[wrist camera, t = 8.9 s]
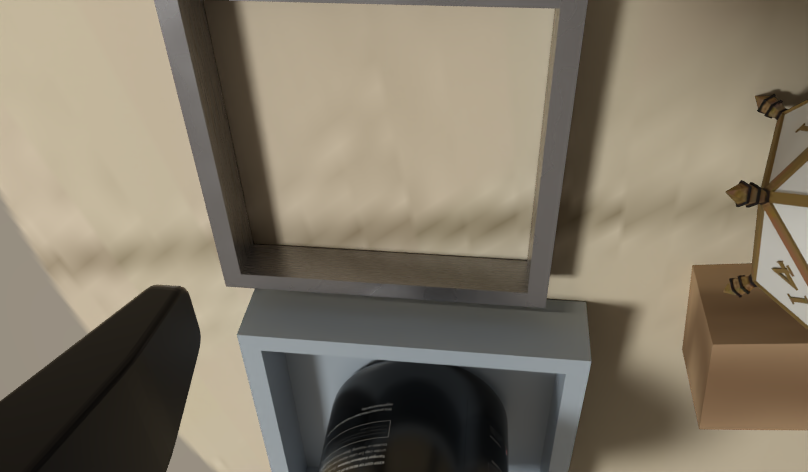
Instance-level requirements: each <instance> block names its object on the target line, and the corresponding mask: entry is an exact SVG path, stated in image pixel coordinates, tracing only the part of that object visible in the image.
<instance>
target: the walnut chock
mask: <svg viewBox="0 0 808 472" xmlns="http://www.w3.org/2000/svg"><path fill="white" fill-rule="evenodd" d="M751 269H752V263H749V264H717V265H693V266H692V274H691V282H690V290H689V299H688V307H687V315H686V323H685V331H684V340H683V348H682V350H683V355H684V360H685V365H686V369H687V374H688V379H689V383H690V388H691V393H692V397H693V402H694V407H695V411H696V416H697V421H698V426H699V429H727V430H808V330H807V329H806V328H805V327H803V326H802V325H801V324H800V323H799V322H798V321H797V320H795V319H794V318H793V317H792V316H791V315H790V314H788V313H787V312H786V311H785V310H784V309H783V308H782V307H780V306H779V305H778V304H777V303H776V302H775V301H773V300H772V299H771V298H770V297H769V296H768V295H767V294H765V293H764V292H763V291H762V290H761V289H760V288H758V287H754V288H753V289H752V290H751V291H750V294H747V293H745V294H743V295H742V297H741V298H739V297H738V296H737V295H733V294H729V293H724V292H723V290H724V289H725V287H726V286H727V284H728V283H729V279H730V278H738V277H737V276H739V275H745V276H749V275H750V274H751Z"/></svg>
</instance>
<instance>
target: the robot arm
mask: <svg viewBox="0 0 808 472" xmlns="http://www.w3.org/2000/svg"><path fill="white" fill-rule="evenodd" d="M200 338H201V336H200V329H199V325H198V322H197V319H196V315H195V312H194V309H193V305H192V302H191V299H190V296H189V293H188V291H187V290H186V289H185V288H184V287H181V286H170V285H153V286H151V287H149V288H147V289H146V290H145V291H143V292H142V293H141V294H139V295H138V296H137V297H135V298H134V299H133V300H132V301H130V302H129V303H128V304H126V305H125V306H124V307H122V308H121V309H120V310H118V311H117V312H116V313H115V314H113V315H112V316H111V317H109V318H108V319H107V320H105V321H104V322H103V323H102V324H100V325H99V326H98V327H96V328H95V329H94V330H92V331H91V332H90V333H89V334H87V335H86V336H85V337H84V338H82V339H81V340H79V341H78V342H77V343H75V344H74V345H73V346H72V347H70V348H69V349H68V350H66V351H65V352H64V353H63V354H61V355H60V356H59V357H57V358H56V359H55V360H53V361H52V362H51V363H50V364H48V365H47V366H45V367H44V368H43V369H42V370H40V371H39V372H38V373H36V374H35V375H34V376H32V377H31V378H30V379H29V380H27V381H26V382H25V383H23V384H22V385H21V386H19V387H18V388H17V389H16V390H14V391H13V392H12V393H10V394H9V395H8V396H6V397H5V398H4V399H2V400H1V401H0V472H166V470H167V468H168V465H169V462H170V459H171V456H172V453H173V449H174V445H175V442H176V438H177V435H178V431H179V427H180V423H181V419H182V415H183V411H184V407H185V403H186V399H187V396H188V392H189V388H190V384H191V380H192V376H193V372H194V368H195V364H196V360H197V356H198V353H199V348H200Z"/></svg>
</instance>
